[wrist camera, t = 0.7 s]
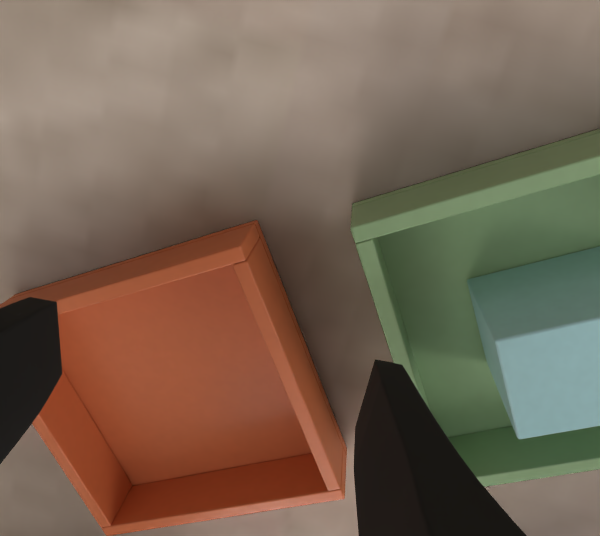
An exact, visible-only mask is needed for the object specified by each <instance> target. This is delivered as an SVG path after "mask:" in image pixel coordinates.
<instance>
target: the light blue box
mask: <svg viewBox="0 0 600 536" xmlns="http://www.w3.org/2000/svg"><path fill="white" fill-rule="evenodd" d="M467 284H468V288H469V292H470V296H471V300H472V304H473V308H474V312H475V316H476V321H477V325H478V329H479V333H480V337H481V341H482V345H483V349H484V353H485V357H486V361H487V364H488V366H489V369H490V371H491V374H492V376H493V379H494V381H495V384H496V386H497V389H498V391H499V394H500V396H501V399H502V401H503V404H504V406H505V409H506V411H507V414H508V416H509V419H510V421H511V424H512V426H513V429H514V431H515V434H516V436H517V438H518V439H525V438H531V437H537V436H542V435H548V434H554V433H560V432H566V431H572V430H578V429H583V428H589V427H595V426H600V246H599V247H595V248H591V249H587V250H583V251H579V252H575V253H571V254H567V255H563V256H559V257H555V258H551V259H547V260H543V261H539V262H535V263H531V264H527V265H523V266H519V267H515V268H511V269H507V270H503V271H499V272H495V273H491V274H487V275H483V276H479V277H475V278H471V279H468V280H467Z"/></svg>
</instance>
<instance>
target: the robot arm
mask: <svg viewBox="0 0 600 536" xmlns="http://www.w3.org/2000/svg"><path fill="white" fill-rule="evenodd" d="M61 375H62V362H61V349H60V337H59V324H58V311H57V302H55V301H50V300H44V299H39V298H33V297H28V298H25V299H23V300H20V301H17V302H15V303H12V304H10V305H7V306H5V307H2V308H0V464H1V463H2V461H3V460H4V459H5V457H6V456H7V455H8V454H9V452H10V451H11V450H12V448H13V447H14V446H15V445H16V443H17V442H18V441H19V439H20V438H21V437H22V435H23V434H24V433H25V432H26V430H27V429H28V428H29V426H30V425H31V424H32V422H33V421H34V420H35V418H36V417H37V416H38V414H39V413H40V411H41V410H42V408H43V406H44V405H45V403H46V402H47V400H48V398H49V397H50V395H51V393H52V391H53V390H54V388H55V386H56V384H57V382H58V381H59V379H60V377H61ZM354 478H355V492H356V505H357V517H358V530H359V536H526V534H525V533H524V532H523V531H522V530H521V529H520V528H519V527H518V526H517V525H516V524H515V523H514V521H513V520H512V519H511V518H510V517H509V516H508V515H507V513H506V512H505V511H504V510H503V509H502V508H501V506H500V505H499V504H498V503H497V502H496V501H495V499H494V498H493V497H492V496H491V495H490V494H489V492H488V491H487V490H486V489H485V488H484V486H483V485H482V484H481V483H480V481H479V480H478V479H477V478H476V476H475V475H474V474H473V472H472V471H471V470H470V468H469V467H468V466H467V464H466V463H465V462H464V460H463V459H462V458H461V456H460V455H459V453H458V452H457V450H456V449H455V448H454V446H453V445H452V443H451V442H450V440H449V439H448V437H447V436H446V434H445V433H444V431H443V430H442V428H441V427H440V425H439V424H438V422H437V421H436V419H435V418H434V416H433V414H432V413H431V411H430V410H429V408H428V406H427V405H426V403H425V401H424V400H423V398H422V397H421V395H420V393H419V392H418V390H417V388H416V386H415V385H414V383H413V381H412V380H411V378H410V376H409V375H408V373H407V371H406V370H405V368H404V367H403V365H402V364H396V363H391V362H385V361H380V360H375V362H374V365H373V369H372V372H371V376H370V379H369V382H368V386H367V389H366V393H365V396H364V400H363V403H362V406H361V410H360V413H359V417H358V420H357V423H356V428H355V450H354Z"/></svg>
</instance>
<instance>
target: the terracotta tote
mask: <svg viewBox="0 0 600 536" xmlns="http://www.w3.org/2000/svg"><path fill="white" fill-rule="evenodd" d="M28 297H33V298H39V299H44V300H50V301H55V302H57V311H58V324H59V337H60V349H61V362H62V375H61V377H60V379H59V381H58V382H57V384H56V386H55V388H54V390H53V391H52V393H51V395H50V397H49V398H48V400H47V402H46V403H45V405H44V406H43V408H42V410H41V411H40V413H39V414H38V416H37V417H36V418H35V420H34V421H33V422H32V424H33V426H34V427H35V429H36V430H37V432H38V433H39V435H40V436H41V438H42V439H43V441H44V442H45V444H46V445H47V447H48V448H49V450H50V451H51V453H52V454H53V456H54V457H55V459H56V460H57V462H58V463H59V465H60V466H61V468H62V469H63V471H64V472H65V474H66V476H67V477H68V479H69V480H70V482H71V483H72V485H73V486H74V488H75V489H76V491H77V492H78V494H79V495H80V497H81V498H82V500H83V501H84V503H85V504H86V506H87V507H88V509H89V510H90V512H91V513H92V515H93V516H94V518H95V519H96V521H97V522H98V524H99V525H100V527H102V530H103V531H104V533H105V534H106V536H110V535H116V534H123V533H129V532H136V531H142V530H148V529H155V528H161V527H168V526H174V525H180V524H187V523H193V522H200V521H206V520H213V519H219V518H225V517H232V516H238V515H245V514H251V513H257V512H264V511H270V510H277V509H283V508H289V507H296V506H302V505H309V504H315V503H321V502H328V501H334V500H341V499H344V498H345V479H346V455H347V448H346V445H345V443H344V440H343V438H342V435H341V432H340V430H339V427H338V425H337V422H336V420H335V417H334V415H333V412H332V409H331V407H330V404H329V402H328V399H327V397H326V394H325V392H324V389H323V387H322V384H321V381H320V379H319V376H318V374H317V371H316V369H315V366H314V364H313V361H312V358H311V356H310V353H309V351H308V348H307V346H306V343H305V341H304V338H303V336H302V333H301V330H300V328H299V325H298V323H297V320H296V318H295V315H294V313H293V310H292V307H291V305H290V302H289V300H288V297H287V295H286V292H285V290H284V287H283V284H282V282H281V279H280V277H279V274H278V272H277V269H276V267H275V264H274V262H273V259H272V256H271V254H270V251H269V249H268V246H267V244H266V241H265V239H264V236H263V233H262V231H261V228H260V226H259V223H258V221H257V220H255V221H251V222H248V223H245V224H242V225H238V226H235V227H232V228H229V229H225V230H222V231H219V232H216V233H213V234H209V235H206V236H203V237H200V238H196V239H193V240H190V241H187V242H183V243H180V244H177V245H174V246H170V247H167V248H164V249H161V250H158V251H154V252H151V253H148V254H145V255H141V256H138V257H135V258H132V259H128V260H125V261H122V262H119V263H115V264H112V265H109V266H106V267H103V268H99V269H96V270H93V271H90V272H86V273H83V274H80V275H77V276H73V277H70V278H67V279H64V280H60V281H57V282H54V283H51V284H48V285H44V286H41V287H38V288H35V289H31V290H28V291H25V292H22V293H18V294H15V295H14V296H12V297H11V298H10V299H8V300H7V301H5V302H4V303H2V304H1V305H0V308H2V307H5V306H7V305H10V304H12V303H15V302H17V301H20V300H23V299H25V298H28Z"/></svg>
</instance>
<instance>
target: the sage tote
mask: <svg viewBox="0 0 600 536" xmlns="http://www.w3.org/2000/svg"><path fill="white" fill-rule="evenodd" d="M350 230H351V233H352V236H353V239H354V242H355V243H356V248H357V251H358V254H359V257H360V261H361V264H362V267H363V270H364V273H365V276H366V279H367V282H368V285H369V288H370V291H371V294H372V298H373V301H374V304H375V307H376V310H377V313H378V316H379V319H380V322H381V325H382V328H383V331H384V335H385V338H386V341H387V344H388V347H389V350H390V353H391V356H392V359H393V362H394V363H396V364H402V365H403V367H404V368H405V370H406V371H407V373H408V375H409V376H410V378H411V380H412V381H413V383H414V385H415V386H416V388H417V390H418V392H419V393H420V395H421V397H422V398H423V400H424V401H425V403H426V405H427V406H428V408H429V410H430V411H431V413H432V414H433V416H434V418H435V419H436V421H437V422H438V424H439V425H440V427H441V428H442V430H443V431H444V433H445V434H446V436H447V437H448V439H449V440H450V442H451V443H452V445H453V446H454V448H455V449H456V450H457V452H458V453H459V455H460V456H461V458H462V459H463V460H464V462H465V463H466V464H467V466H468V467H469V468H470V470H471V471H472V472H473V474H474V475H475V476H476V478H477V479H478V480H479V481H480V483H481V484H482V485H483V486H484V487H486V486H492V485H499V484H506V483H512V482H519V481H525V480H532V479H538V478H545V477H552V476H558V475H565V474H571V473H578V472H585V471H591V470H598V469H600V426H595V427H589V428H583V429H578V430H572V431H566V432H560V433H554V434H548V435H542V436H537V437H531V438H525V439H518V438H517V436H516V434H515V431H514V429H513V426H512V424H511V421H510V419H509V416H508V414H507V411H506V409H505V406H504V404H503V401H502V399H501V396H500V394H499V391H498V389H497V386H496V384H495V381H494V379H493V376H492V374H491V371H490V369H489V366H488V364H487V361H486V357H485V353H484V349H483V345H482V341H481V337H480V333H479V329H478V325H477V321H476V316H475V312H474V308H473V304H472V300H471V296H470V292H469V288H468V284H467V280H468V279H471V278H475V277H479V276H483V275H487V274H491V273H495V272H499V271H503V270H507V269H511V268H515V267H519V266H523V265H527V264H531V263H535V262H539V261H543V260H547V259H551V258H555V257H559V256H563V255H567V254H571V253H575V252H579V251H583V250H587V249H591V248H595V247H599V246H600V129H597V130H594V131H591V132H587V133H584V134H581V135H577V136H574V137H571V138H567V139H564V140H561V141H558V142H554V143H551V144H548V145H544V146H541V147H538V148H534V149H531V150H528V151H524V152H521V153H518V154H515V155H511V156H508V157H505V158H501V159H498V160H495V161H491V162H488V163H485V164H481V165H478V166H475V167H472V168H468V169H465V170H462V171H458V172H455V173H452V174H448V175H445V176H442V177H438V178H435V179H432V180H429V181H425V182H422V183H419V184H415V185H412V186H409V187H405V188H402V189H399V190H396V191H392V192H389V193H386V194H382V195H379V196H376V197H372V198H369V199H366V200H362V201H359V202H356V203H353V204H352V215H351V228H350Z"/></svg>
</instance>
